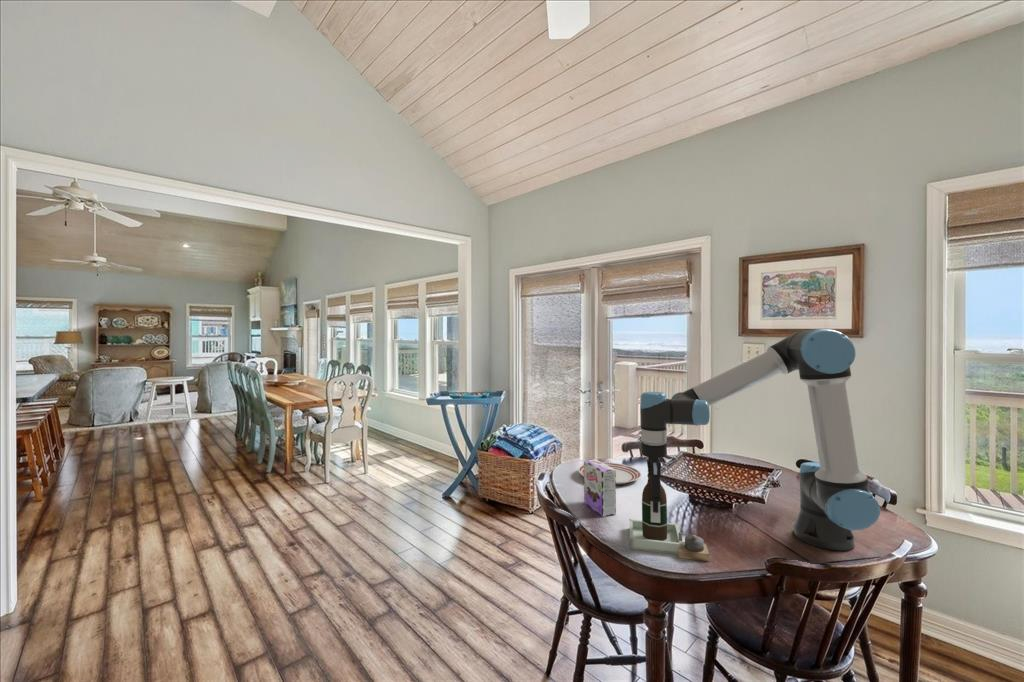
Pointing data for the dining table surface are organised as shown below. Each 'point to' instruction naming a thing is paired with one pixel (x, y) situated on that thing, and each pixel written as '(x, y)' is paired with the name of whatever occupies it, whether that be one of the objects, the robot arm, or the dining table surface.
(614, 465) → the dinner plate
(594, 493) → the candy box
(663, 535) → the beer bottle
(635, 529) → the tray
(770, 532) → the dining table surface
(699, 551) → the grey stone on stand
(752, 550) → the dining table surface
